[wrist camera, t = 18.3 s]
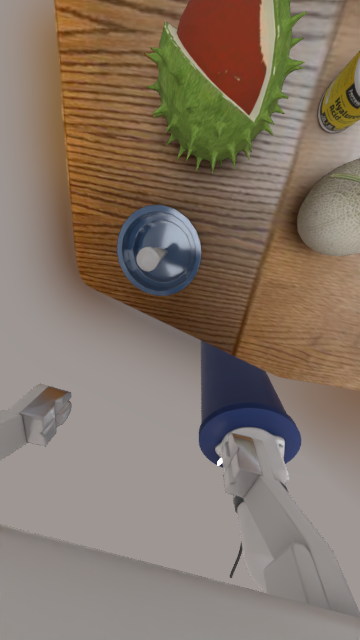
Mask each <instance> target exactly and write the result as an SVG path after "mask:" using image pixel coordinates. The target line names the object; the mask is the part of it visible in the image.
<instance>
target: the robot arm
mask: <svg viewBox="0 0 360 640" xmlns="http://www.w3.org/2000/svg"><path fill="white" fill-rule="evenodd" d="M70 398H71V392H68V391H64V390H61V389H57V388H54V387H50V386H47V385H43V384H39V385H37V386H35V387H34V388H33V389H32V390H31V391H29V392H28V393H27V394H26V395H25V396H23V397H22V399H20V400H19V401H18V402H16V403H15V404H14V405H13V406H12V407H11V408H10V409H8V410H7V411H5V410H3V411H0V460H2V459H4V458H5V457H7V456H8V455H10V454H11V453H13V452H15V451H16V450H18V449H19V448H21V447H22V446H23V445H25V444H27V443H31V444H36V445H40V446H46V445H47V444H48V443H49V441H50V440H51V439H52V437H53V436H54V435H55V434H56V428H57V427H58V426H60V425H62V424H63V423H64V422H65V420H66V419H67V418H68V415H69V413H70V411H71V402H70V401H69V399H70ZM284 447H285V442H284V439H283V438H282V437H280V436H276V435H273V434H271V433H269V432H267V431H265V430H263V429H260V428H256V427H242V428H237V429H234V430H232V431H230V432H229V433H227V434H226V435H225V436H224V438H223V440H222V441H221V443H219V444H218V445H216V447H215V450H216V453H217V454H218V455H219V456H220V457H221V459H220V460H219V461H218V466H219V465H220V464H221V463H222V465H223V469H224V475H223V477H224V487H225V493H228V494H231V495H233V502H234V505H235V511H236V512H237V514H238V520H239V527H240V534H241V547H240V550H239V554H238V557H237V560H236V562H235V564H234V567H233V569H232V571H231V574H230V578H232V575H233V573H234V571H235V568H236V566H237V564H238V561H239V559H240V556H241V553H242V549H243V556H244V561H245V564H246V567H247V570H248V572H249V574H250V575H251V577H252V579H253V580H254V581H255V583H256V584H257V585H258V586H259V587H260V588H261V589H262V590H263V591H264V592H265V593H263V592H259V591H255V590H251V589H248V588H244V587H240V586H236V585H232V584H229V583H225V582H221V581H217V580H213V579H209V578H205V577H202V576H198V575H194V574H190V573H186V572H182V571H178V570H175V569H171V568H167V567H163V566H159V565H156V564H152V563H148V562H144V561H140V560H136V559H132V558H129V557H125V556H121V555H117V554H113V553H109V552H106V551H102V550H98V549H94V548H90V547H86V546H82V545H79V544H75V543H70V542H67V541H63V540H59V539H56V538H52V537H48V536H44V535H40V534H36V533H32V532H29V531H25V530H21V529H17V528H13V527H10V526H6V525H2V524H0V640H360V612H359V610H358V608H357V605H356V603H355V601H354V598H353V596H352V594H351V591H350V589H349V587H348V584H347V582H346V580H345V578H344V575H343V573H342V570H341V568H340V566H339V563H338V561H337V559H336V557H335V554H334V552H333V550H332V549H331V548H330V546H329V545H328V544H327V543H326V541H325V540H324V539H323V537H322V536H321V535H320V534H319V532H318V531H317V530H316V528H315V527H314V526H313V525H312V523H311V522H310V521H309V519H308V518H307V517H306V515H305V514H304V513H303V511H302V510H301V509H300V508H299V506H298V505H297V504H296V502H295V501H294V500H293V499H292V497H291V496H290V495H289V493H288V491H287V488H286V486H285V484H286V481H289V480H290V479H289V473H288V470H287V468H286V466H285V462H284Z"/></svg>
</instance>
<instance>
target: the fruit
mask: <svg viewBox="0 0 360 640" xmlns="http://www.w3.org/2000/svg"><path fill="white" fill-rule="evenodd" d="M297 227H298V233H299V235H300V237H301V239H302V241H303V242H304V243H305V244H306V245H307V246H308V247H309V248H311V249H312V250H314V251H315V252H318V253H320V254H324V255H329V256H346V255H352V254H357V253H360V159H356V160H354V161H351V162H348V163H345V164H343V165H342V166H340V167H338V168H336V169H335V170H333V171H331V172H330V173H328V174H327V175H325V176H324V177H323V178H322V179H320V180H319V181H318V182H317V183H316V185H315V186H314V187H313V188H312V189H311V191H310V192H309V194H308V195H307V197H306V198H305V200H304V201H303V203H302V205H301V207H300V210H299V213H298V218H297Z"/></svg>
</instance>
